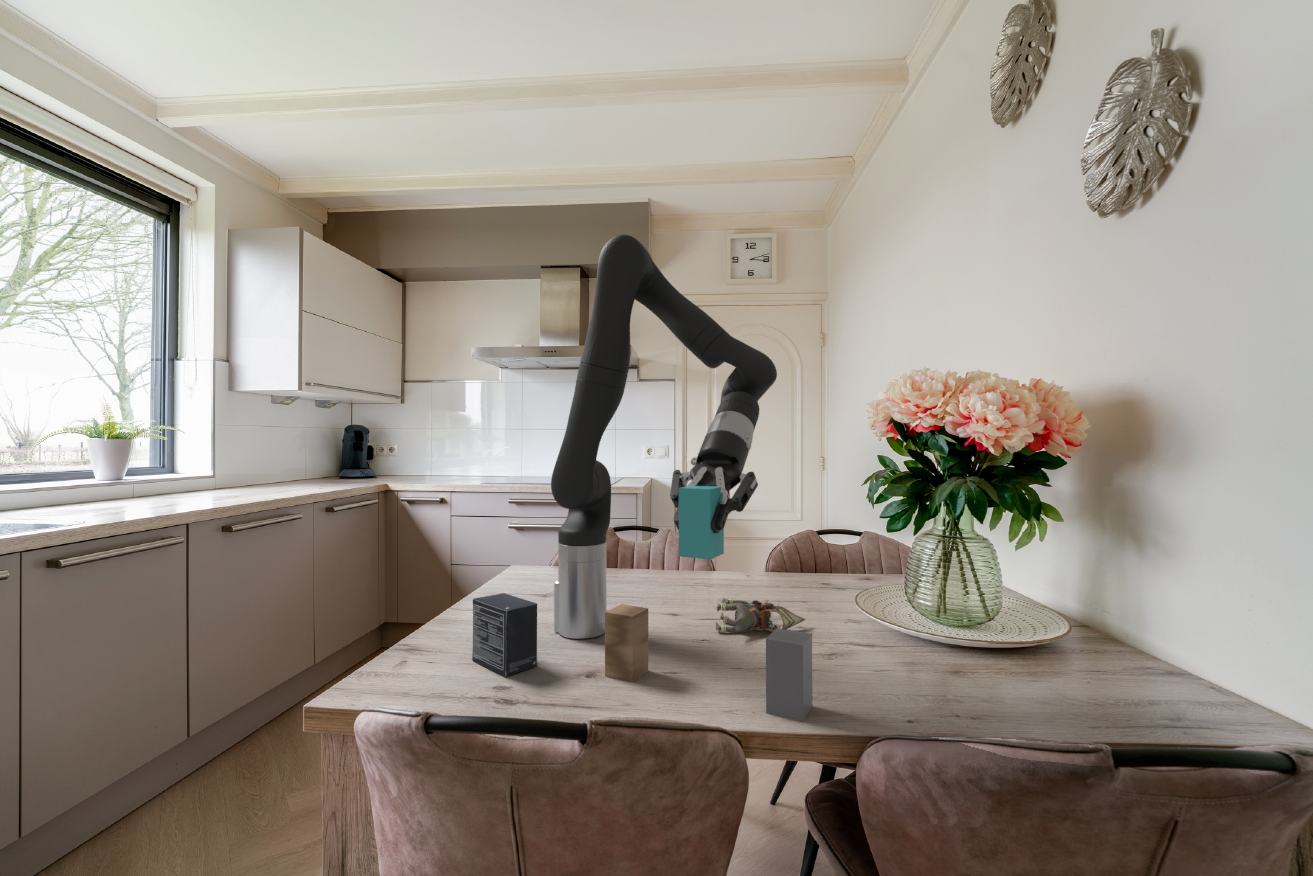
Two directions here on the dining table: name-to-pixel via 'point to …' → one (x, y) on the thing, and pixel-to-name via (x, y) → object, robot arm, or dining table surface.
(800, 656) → the charcoal block
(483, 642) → the small box
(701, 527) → the teal block
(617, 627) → the walnut block
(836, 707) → the dining table surface
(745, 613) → the figurine
